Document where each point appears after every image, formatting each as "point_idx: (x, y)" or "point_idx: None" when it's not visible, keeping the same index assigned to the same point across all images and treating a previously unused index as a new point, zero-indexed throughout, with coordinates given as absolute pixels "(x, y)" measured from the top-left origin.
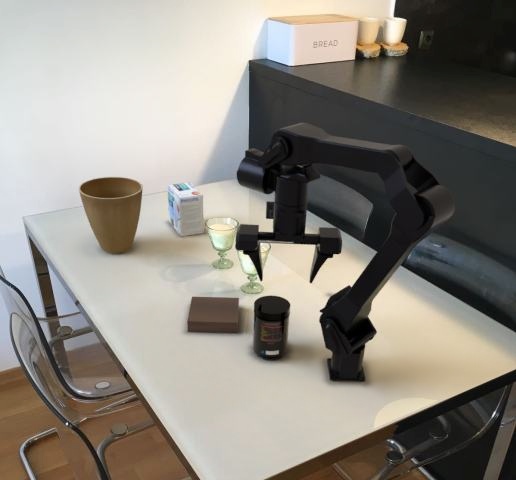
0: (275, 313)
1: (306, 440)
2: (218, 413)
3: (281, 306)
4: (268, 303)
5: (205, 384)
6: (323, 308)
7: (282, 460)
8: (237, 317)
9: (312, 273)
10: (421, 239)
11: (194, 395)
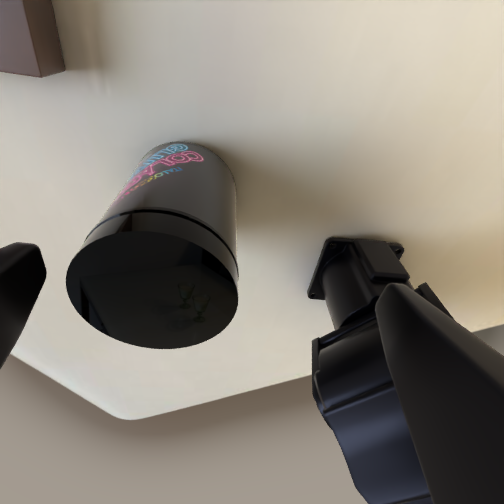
0: (170, 346)
1: (231, 381)
2: (96, 345)
3: (197, 312)
4: (137, 293)
5: (47, 289)
6: (335, 435)
7: (196, 398)
8: (28, 25)
9: (406, 414)
10: None
11: (36, 312)
